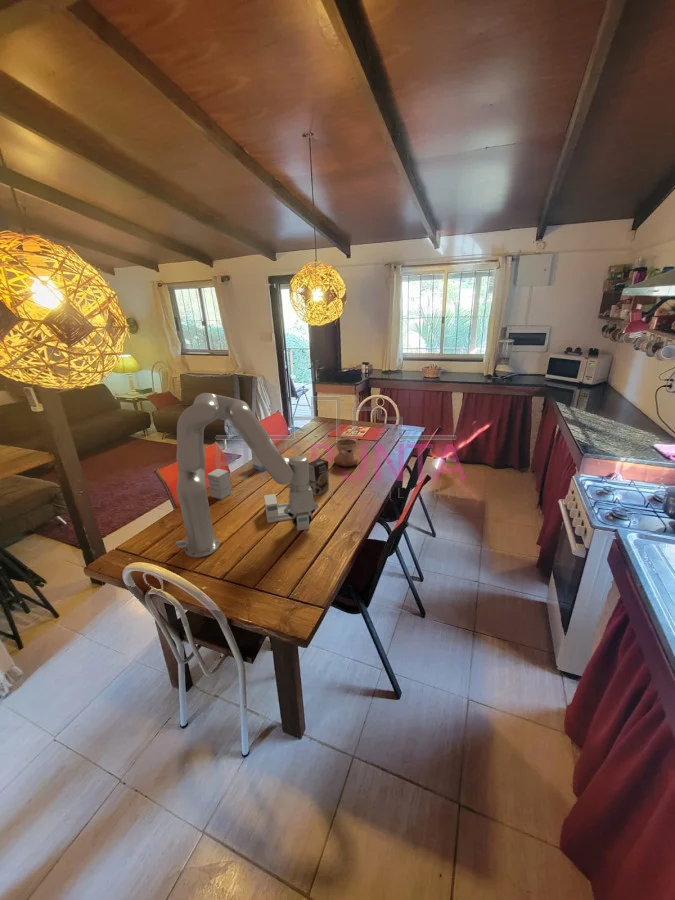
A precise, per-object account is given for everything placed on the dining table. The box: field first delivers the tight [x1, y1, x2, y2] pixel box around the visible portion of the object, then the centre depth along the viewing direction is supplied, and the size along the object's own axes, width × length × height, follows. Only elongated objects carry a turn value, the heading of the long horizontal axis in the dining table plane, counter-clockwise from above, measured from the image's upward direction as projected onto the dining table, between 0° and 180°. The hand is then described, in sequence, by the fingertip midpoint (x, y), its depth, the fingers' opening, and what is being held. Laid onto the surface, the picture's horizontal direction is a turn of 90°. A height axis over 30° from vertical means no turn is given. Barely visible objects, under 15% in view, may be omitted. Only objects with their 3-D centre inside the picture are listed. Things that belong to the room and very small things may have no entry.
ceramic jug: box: [333, 438, 359, 467], centre depth 206 cm, size 18×14×14 cm
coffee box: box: [308, 458, 330, 496], centre depth 174 cm, size 9×6×16 cm
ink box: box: [250, 449, 267, 472], centre depth 202 cm, size 9×8×13 cm
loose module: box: [296, 512, 310, 532], centre depth 146 cm, size 5×5×7 cm
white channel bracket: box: [263, 493, 314, 524], centre depth 156 cm, size 20×12×8 cm, turn 106°
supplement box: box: [206, 468, 232, 500], centre depth 171 cm, size 7×7×13 cm
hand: (302, 523), depth 147 cm, fingers closed on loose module, 5 cm apart
